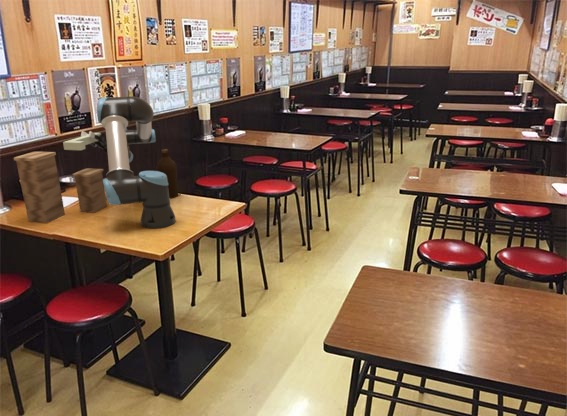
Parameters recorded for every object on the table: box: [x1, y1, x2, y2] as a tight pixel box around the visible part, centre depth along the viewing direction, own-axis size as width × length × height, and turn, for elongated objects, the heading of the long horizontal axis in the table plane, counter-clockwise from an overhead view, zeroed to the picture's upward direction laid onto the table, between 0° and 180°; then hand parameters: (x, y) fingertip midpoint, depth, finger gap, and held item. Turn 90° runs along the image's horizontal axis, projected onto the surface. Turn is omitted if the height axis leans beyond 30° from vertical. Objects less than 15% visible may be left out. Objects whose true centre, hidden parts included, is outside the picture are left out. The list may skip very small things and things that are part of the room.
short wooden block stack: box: [72, 167, 108, 213], centre depth 223 cm, size 9×11×19 cm
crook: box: [62, 132, 102, 151], centre depth 215 cm, size 24×8×3 cm, turn 168°
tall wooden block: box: [13, 151, 66, 224], centre depth 209 cm, size 11×13×30 cm
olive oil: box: [155, 148, 179, 199], centre depth 241 cm, size 11×11×25 cm
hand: (86, 133), depth 217 cm, fingers closed on crook, 3 cm apart
